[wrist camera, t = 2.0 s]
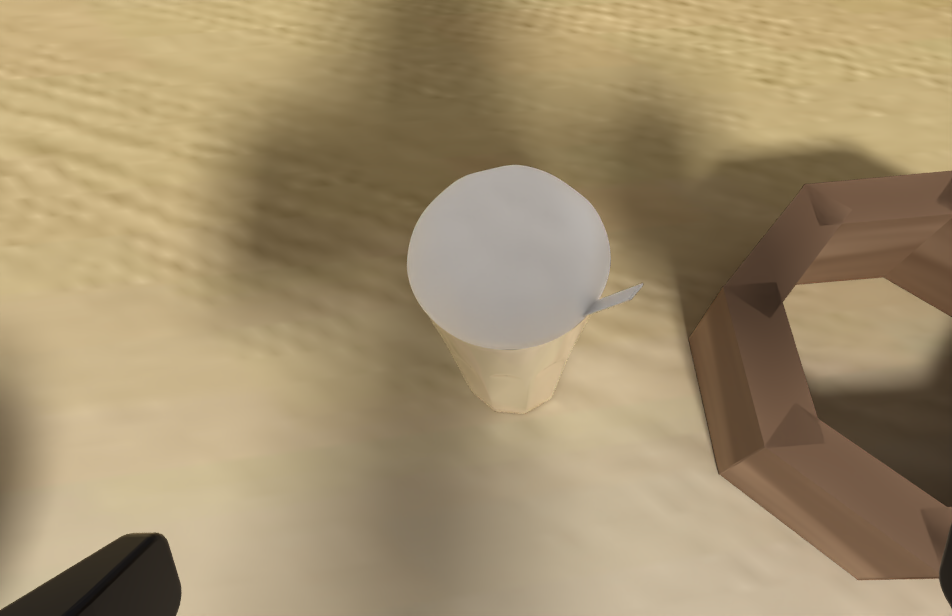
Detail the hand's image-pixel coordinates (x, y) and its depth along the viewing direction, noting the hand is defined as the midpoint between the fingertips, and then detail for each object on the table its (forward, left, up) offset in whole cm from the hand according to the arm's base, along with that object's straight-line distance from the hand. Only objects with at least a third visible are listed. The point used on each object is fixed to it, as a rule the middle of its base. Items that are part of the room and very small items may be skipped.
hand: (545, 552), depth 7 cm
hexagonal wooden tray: (-5, -12, -12) cm, 18 cm away
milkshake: (+4, -5, -12) cm, 14 cm away
